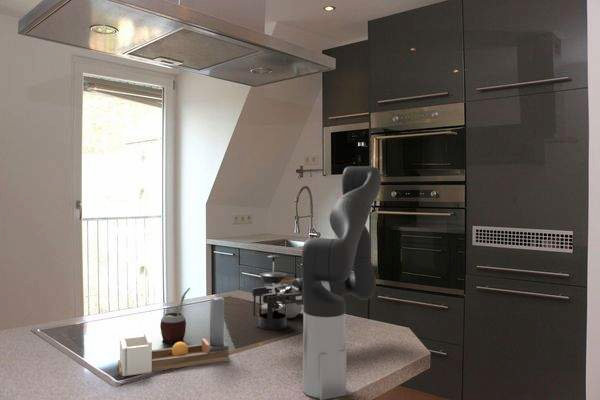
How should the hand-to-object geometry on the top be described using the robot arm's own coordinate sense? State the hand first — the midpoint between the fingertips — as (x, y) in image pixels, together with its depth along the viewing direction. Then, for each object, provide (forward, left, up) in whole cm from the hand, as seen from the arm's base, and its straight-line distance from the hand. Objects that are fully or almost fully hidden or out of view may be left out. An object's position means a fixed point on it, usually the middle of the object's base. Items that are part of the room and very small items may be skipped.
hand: (257, 295), depth 127 cm
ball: (0, +21, -12) cm, 24 cm away
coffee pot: (+30, -27, -15) cm, 43 cm away
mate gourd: (+17, +19, -15) cm, 30 cm away
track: (0, +22, -15) cm, 27 cm away
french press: (+22, -13, -15) cm, 29 cm away
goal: (0, +31, -15) cm, 35 cm away
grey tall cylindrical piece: (0, +12, -14) cm, 18 cm away
